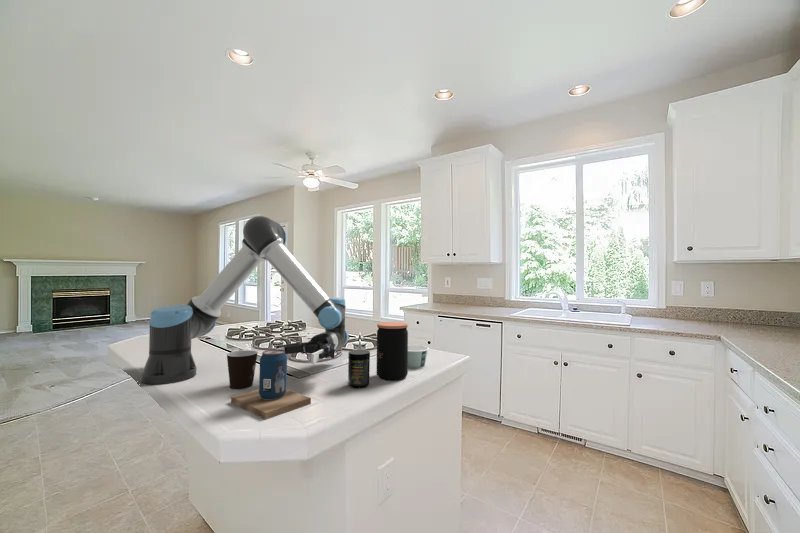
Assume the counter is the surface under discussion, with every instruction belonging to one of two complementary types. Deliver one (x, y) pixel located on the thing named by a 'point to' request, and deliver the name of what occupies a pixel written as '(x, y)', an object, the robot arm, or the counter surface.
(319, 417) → the counter surface
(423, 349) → the food container
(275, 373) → the soda can
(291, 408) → the walnut board
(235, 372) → the coffee mug
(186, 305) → the robot arm
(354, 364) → the supplement container
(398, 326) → the coffee jar
